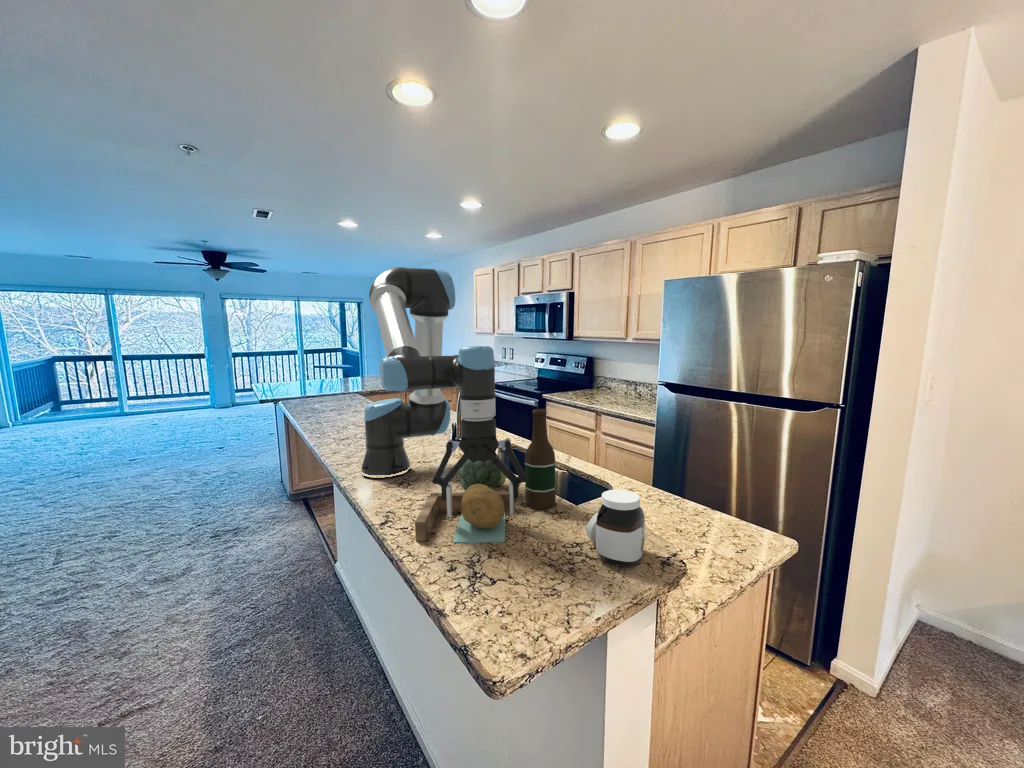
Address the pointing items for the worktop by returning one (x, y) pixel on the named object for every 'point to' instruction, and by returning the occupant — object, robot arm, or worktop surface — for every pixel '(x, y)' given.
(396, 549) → the worktop surface
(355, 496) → the worktop surface
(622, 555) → the spread jar
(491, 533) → the pad
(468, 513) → the potato
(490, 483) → the vegetable
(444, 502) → the corner arena
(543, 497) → the beer bottle
